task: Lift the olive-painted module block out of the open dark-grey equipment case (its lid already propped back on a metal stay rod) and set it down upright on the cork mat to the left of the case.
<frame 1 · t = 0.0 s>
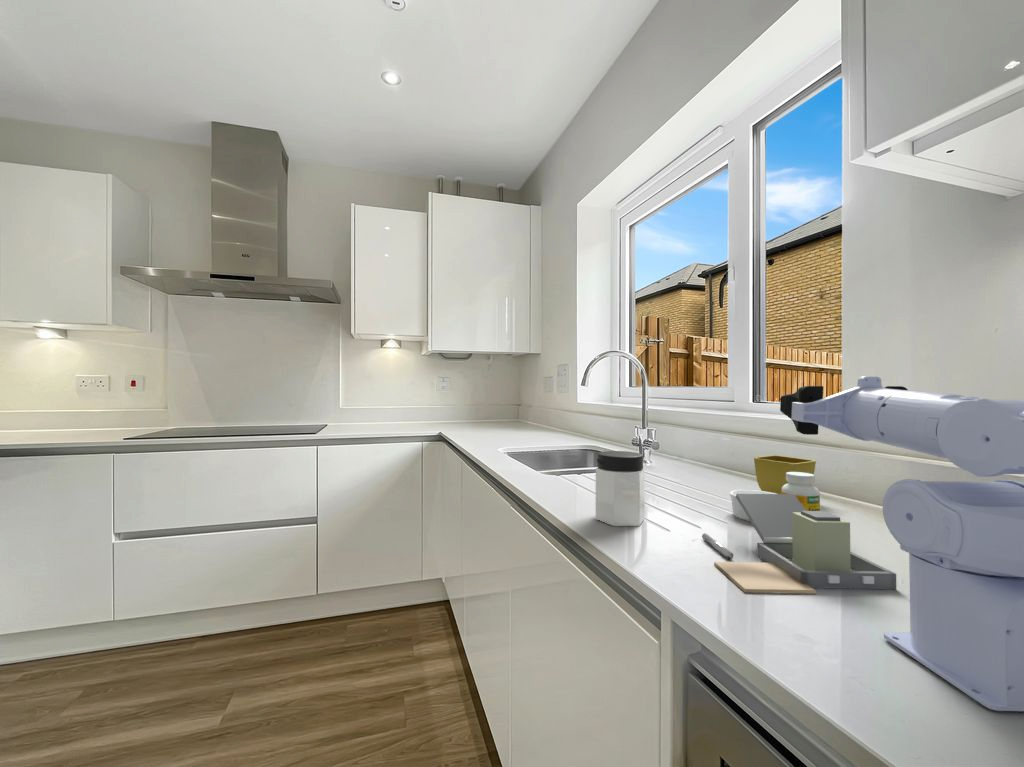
hand: (813, 403, 56), 22 cm above the table, tool horizontal, fingers open, 7 cm apart
mat: (761, 578, 53), on the table
jar: (620, 521, 78), on the table
supplement bottle: (800, 532, 72), on the table
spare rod: (716, 548, 63), on the table
ramekin: (756, 518, 80), on the table
case: (820, 570, 56), on the table
module: (820, 571, 56), resting in case
flower pot: (784, 501, 93), on the table
lid: (796, 556, 61), resting on case
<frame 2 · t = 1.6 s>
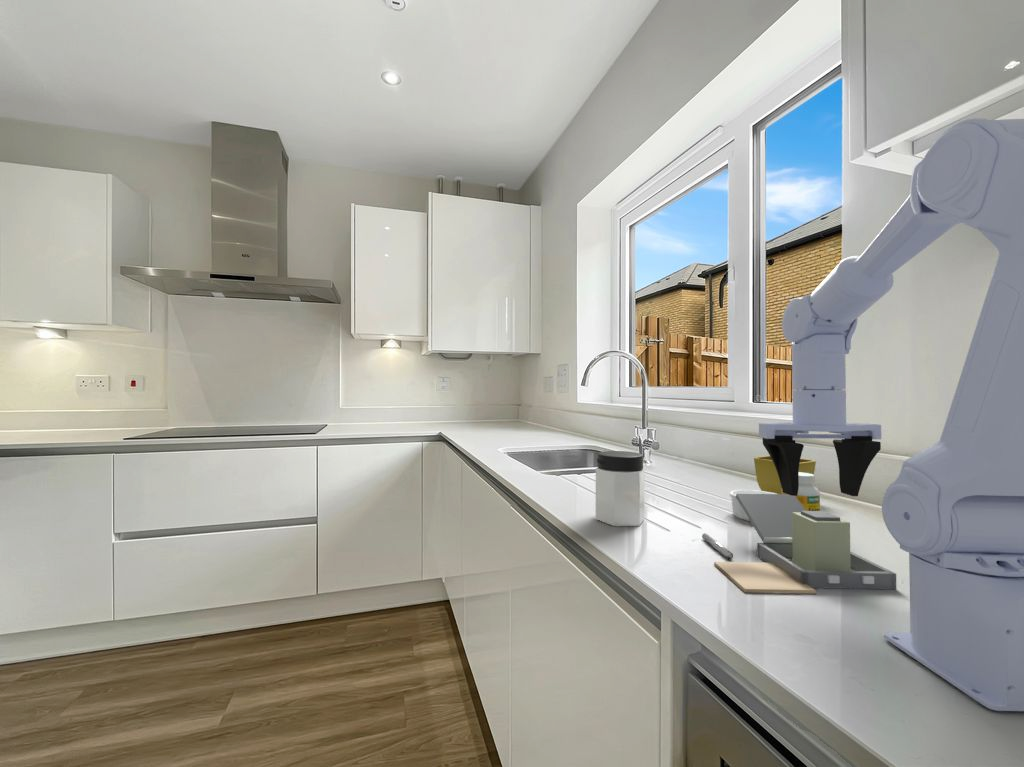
hand: (819, 494, 56), 10 cm above the table, tool pointing down, fingers open, 7 cm apart
nothing on the table moved.
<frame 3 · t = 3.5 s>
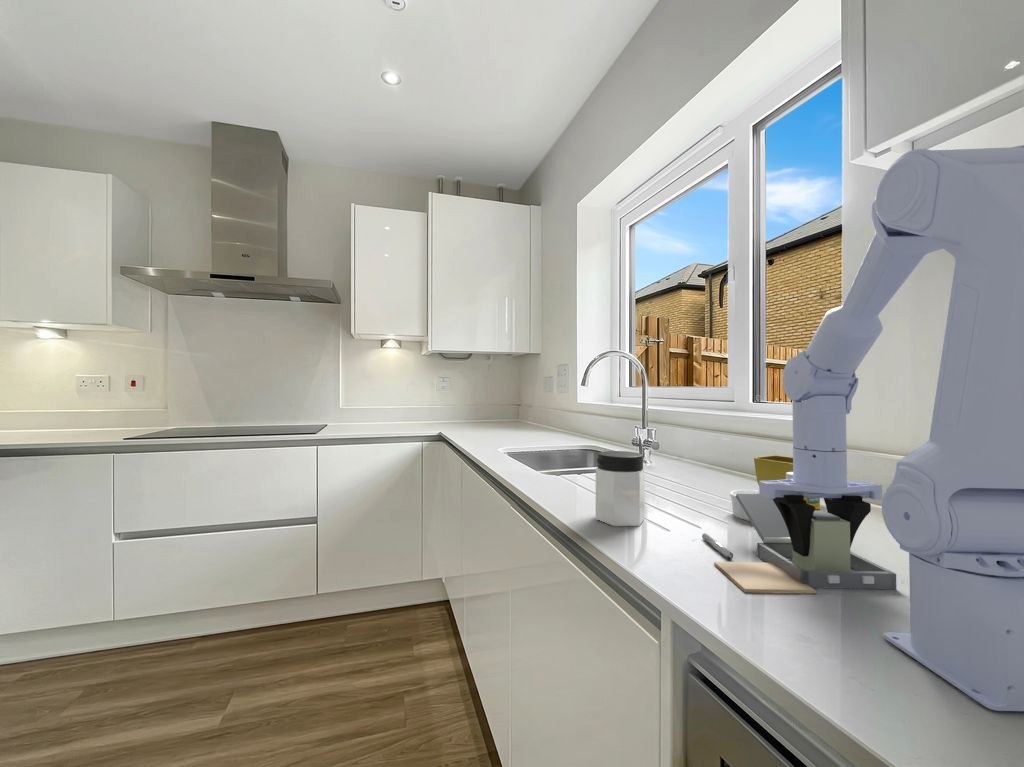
hand: (820, 553, 56), 2 cm above the table, tool pointing down, fingers closed on module, 4 cm apart
module: (820, 570, 56), resting in case, touching gripper
everything else where it was.
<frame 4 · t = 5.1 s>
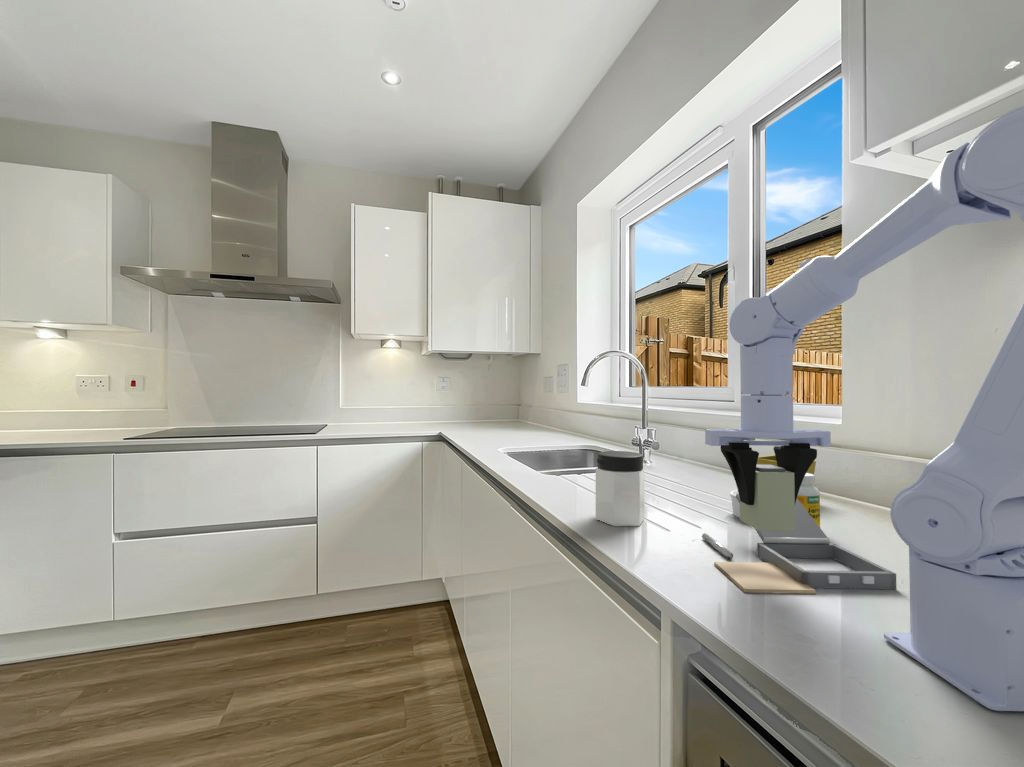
hand: (767, 503, 54), 9 cm above the table, tool pointing down, fingers closed on module, 4 cm apart
module: (766, 525, 54), point 6 cm above the table, touching gripper
everything else where it was.
when the fingers open (4 cm above the table, at t = 6.7 s): module stays where it is, resting on mat.
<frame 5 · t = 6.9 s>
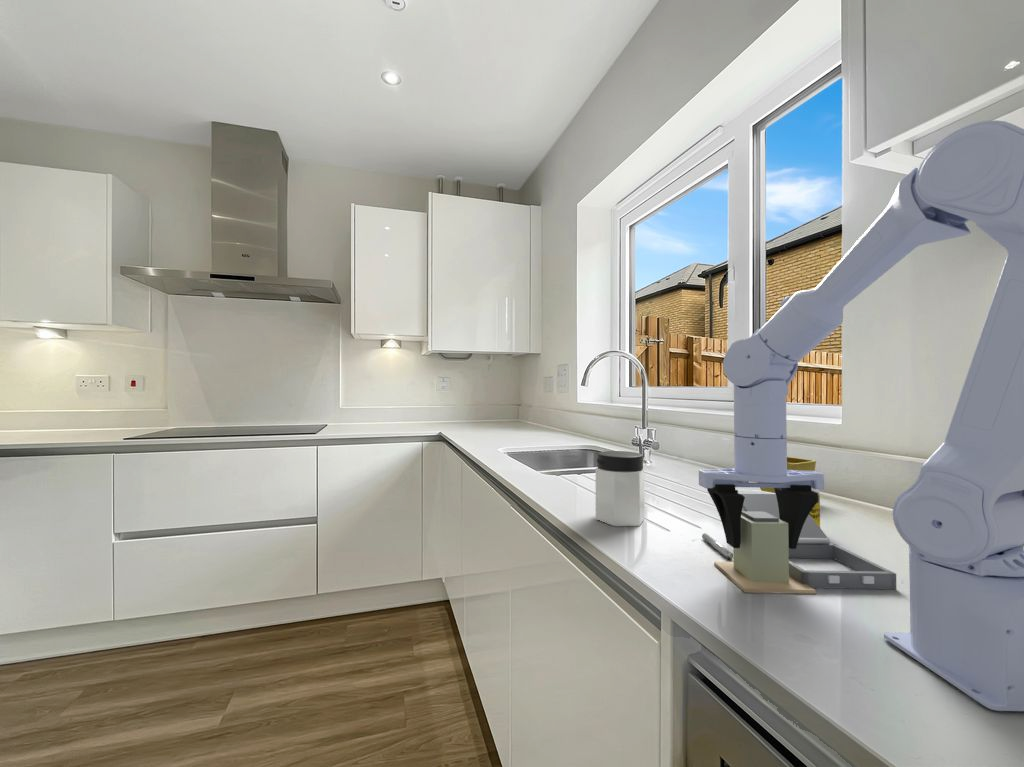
hand: (760, 545, 53), 4 cm above the table, tool pointing down, fingers open, 6 cm apart
module: (760, 574, 54), resting on mat
everything else where it was.
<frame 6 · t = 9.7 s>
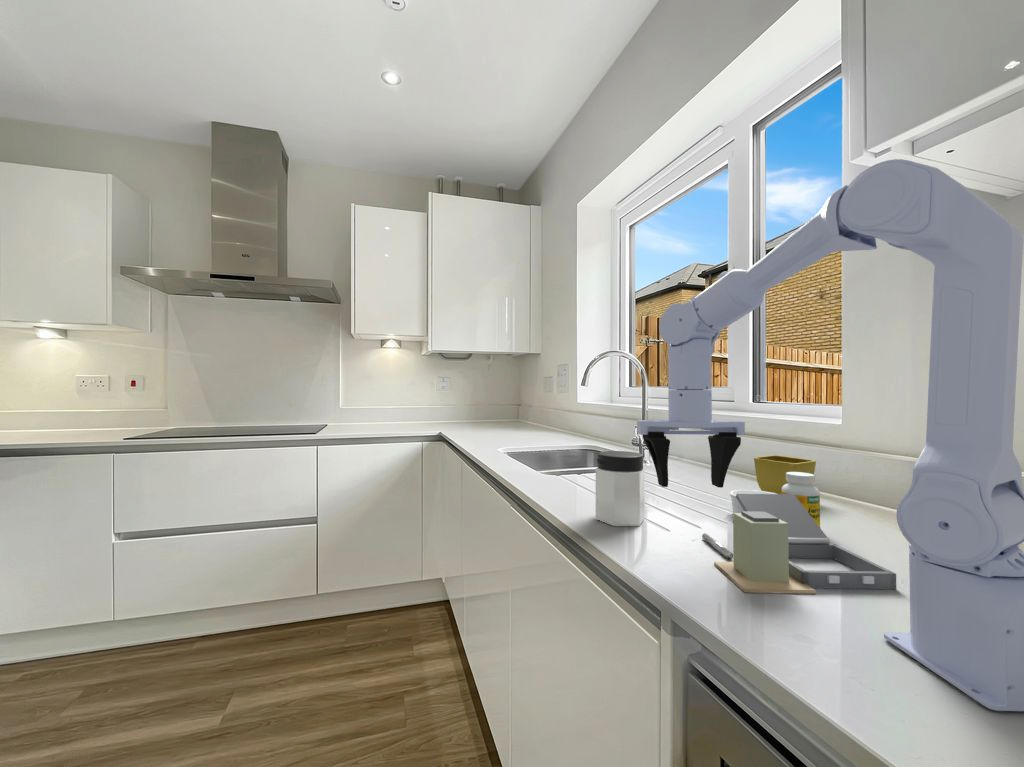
hand: (690, 485, 61), 10 cm above the table, tool pointing down, fingers open, 7 cm apart
nothing on the table moved.
at the end: module 0.2 cm from the mat (horizontally); module tilted 0°; the gripper is holding nothing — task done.
